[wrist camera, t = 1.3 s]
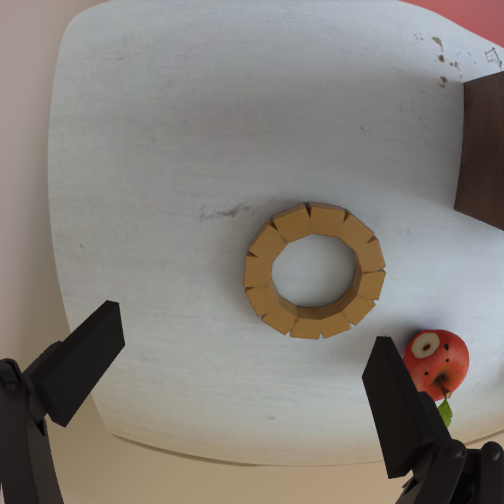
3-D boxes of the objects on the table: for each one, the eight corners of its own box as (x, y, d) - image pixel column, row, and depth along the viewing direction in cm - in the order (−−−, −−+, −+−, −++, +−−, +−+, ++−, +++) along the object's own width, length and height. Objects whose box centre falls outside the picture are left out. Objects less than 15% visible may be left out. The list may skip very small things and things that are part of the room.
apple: (395, 319, 24) (436, 391, 15) (453, 308, 23) (504, 367, 14) (386, 377, 27) (411, 449, 17) (439, 365, 26) (473, 427, 16)
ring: (253, 195, 22) (251, 198, 20) (389, 214, 21) (398, 219, 20) (242, 319, 26) (239, 331, 24) (360, 330, 25) (364, 343, 23)
